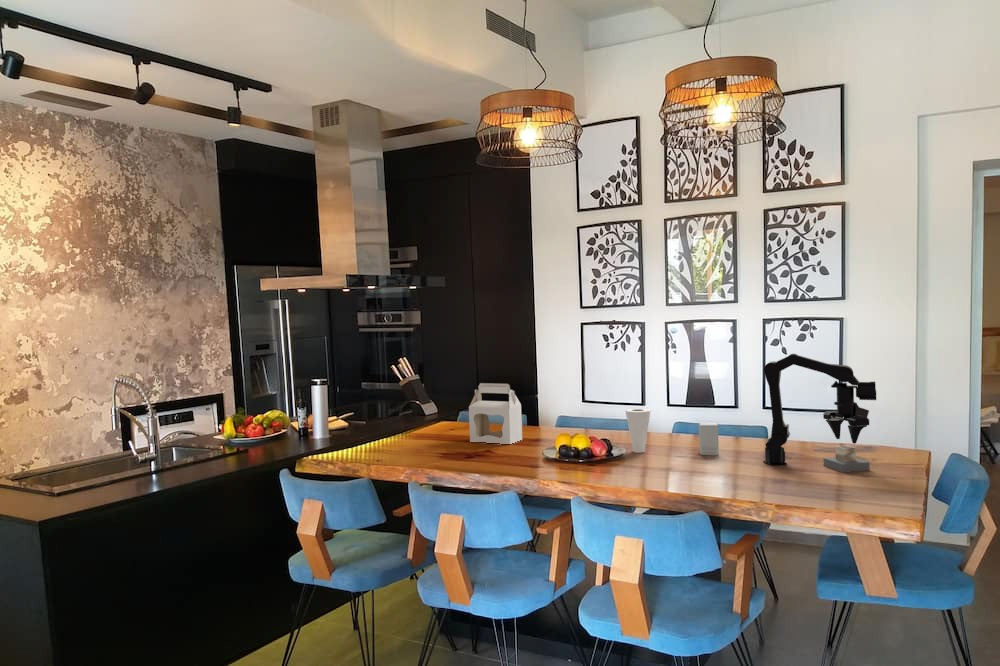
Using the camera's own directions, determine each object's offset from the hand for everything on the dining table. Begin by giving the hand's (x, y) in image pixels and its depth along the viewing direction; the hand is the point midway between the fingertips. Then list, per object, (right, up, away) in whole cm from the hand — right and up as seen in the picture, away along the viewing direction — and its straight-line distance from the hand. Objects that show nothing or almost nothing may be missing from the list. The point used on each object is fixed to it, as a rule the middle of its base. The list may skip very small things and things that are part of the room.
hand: (846, 441), depth 262 cm
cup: (-69, -11, +42) cm, 82 cm away
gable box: (-131, -12, +77) cm, 152 cm away
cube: (0, -7, 0) cm, 7 cm away
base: (0, -10, 0) cm, 10 cm away
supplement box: (-41, -11, +34) cm, 54 cm away
